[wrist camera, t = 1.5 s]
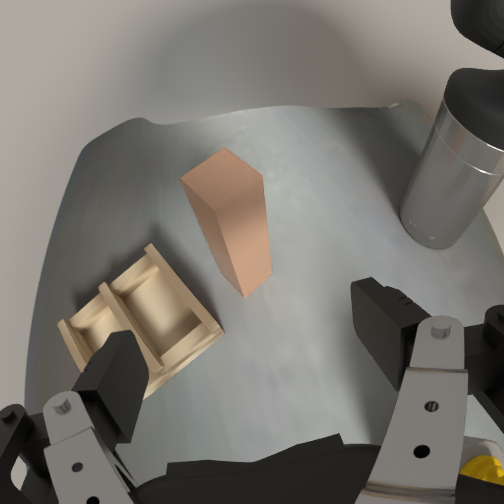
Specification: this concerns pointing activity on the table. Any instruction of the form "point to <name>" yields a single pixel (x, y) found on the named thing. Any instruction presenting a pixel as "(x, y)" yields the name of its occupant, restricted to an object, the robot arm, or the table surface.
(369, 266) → the table surface
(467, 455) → the soap bottle
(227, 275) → the clay bar
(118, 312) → the rack
